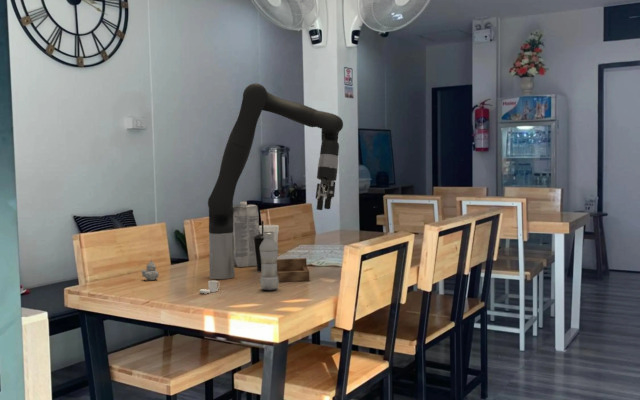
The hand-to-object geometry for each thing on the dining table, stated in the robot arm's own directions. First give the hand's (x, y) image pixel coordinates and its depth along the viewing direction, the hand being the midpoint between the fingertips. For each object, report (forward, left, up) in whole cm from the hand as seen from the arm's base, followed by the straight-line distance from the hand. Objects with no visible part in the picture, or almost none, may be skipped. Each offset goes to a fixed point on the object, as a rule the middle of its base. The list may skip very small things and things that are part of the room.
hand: (323, 209), depth 243 cm
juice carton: (-30, +29, -26) cm, 49 cm away
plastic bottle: (-22, -23, -26) cm, 41 cm away
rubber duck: (-66, +4, -26) cm, 71 cm away
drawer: (-14, -4, -25) cm, 29 cm away
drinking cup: (-23, +16, -26) cm, 38 cm away
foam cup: (-19, +62, -26) cm, 70 cm away
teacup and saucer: (-44, -21, -26) cm, 55 cm away
